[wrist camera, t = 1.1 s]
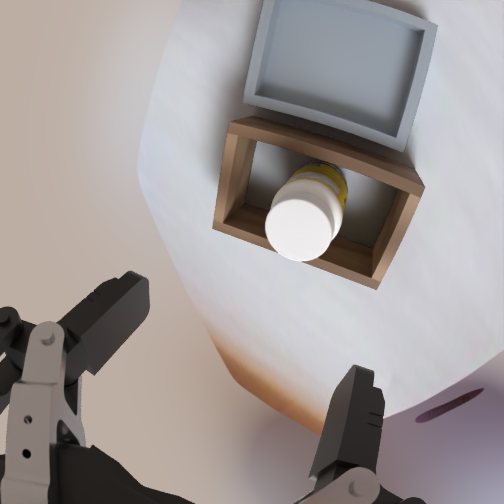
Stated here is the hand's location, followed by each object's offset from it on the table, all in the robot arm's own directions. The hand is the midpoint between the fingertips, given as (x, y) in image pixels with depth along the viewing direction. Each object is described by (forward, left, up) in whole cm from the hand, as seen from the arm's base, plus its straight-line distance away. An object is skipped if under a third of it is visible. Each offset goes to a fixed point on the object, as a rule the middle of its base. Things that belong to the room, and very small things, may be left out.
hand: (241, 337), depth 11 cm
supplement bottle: (0, 0, -17) cm, 17 cm away
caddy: (0, 0, -17) cm, 17 cm away
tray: (-11, -1, -17) cm, 20 cm away
